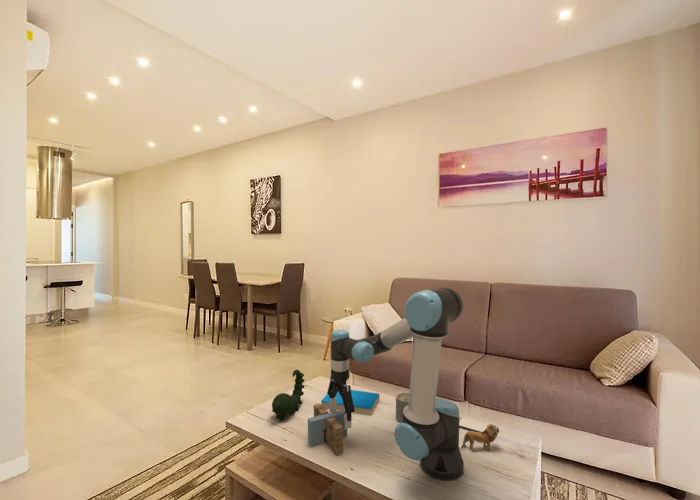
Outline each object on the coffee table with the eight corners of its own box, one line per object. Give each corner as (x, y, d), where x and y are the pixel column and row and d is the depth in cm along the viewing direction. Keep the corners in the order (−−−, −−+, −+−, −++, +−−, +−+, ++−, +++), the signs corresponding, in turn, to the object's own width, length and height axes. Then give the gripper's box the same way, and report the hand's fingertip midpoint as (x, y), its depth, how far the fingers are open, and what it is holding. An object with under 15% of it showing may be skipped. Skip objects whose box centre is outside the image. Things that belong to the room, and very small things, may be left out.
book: (372, 408, 162) (320, 400, 169) (371, 417, 162) (320, 409, 169) (379, 392, 179) (332, 386, 186) (379, 401, 179) (332, 394, 186)
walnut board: (343, 453, 134) (343, 427, 133) (336, 455, 132) (336, 429, 132) (320, 426, 153) (320, 403, 153) (313, 427, 152) (313, 404, 151)
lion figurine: (492, 443, 141) (493, 420, 141) (500, 451, 136) (500, 428, 135) (457, 446, 139) (458, 423, 138) (464, 454, 133) (464, 430, 133)
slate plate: (343, 433, 148) (344, 409, 148) (347, 436, 145) (347, 412, 145) (307, 443, 140) (307, 418, 140) (310, 447, 138) (310, 421, 137)
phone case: (455, 428, 153) (494, 439, 144) (455, 424, 153) (494, 435, 144) (461, 420, 160) (499, 430, 151) (461, 416, 160) (499, 426, 151)
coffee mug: (415, 426, 153) (415, 403, 153) (393, 421, 157) (393, 399, 157) (421, 412, 166) (422, 391, 165) (401, 408, 170) (401, 387, 169)
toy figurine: (291, 404, 177) (263, 424, 153) (293, 365, 178) (265, 379, 154) (308, 407, 174) (282, 428, 150) (310, 368, 175) (284, 382, 151)
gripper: (363, 377, 135) (363, 432, 136) (335, 358, 157) (335, 406, 158) (345, 380, 132) (346, 437, 132) (319, 361, 154) (319, 409, 154)
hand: (340, 420), depth 145 cm, fingers open, 13 cm apart
